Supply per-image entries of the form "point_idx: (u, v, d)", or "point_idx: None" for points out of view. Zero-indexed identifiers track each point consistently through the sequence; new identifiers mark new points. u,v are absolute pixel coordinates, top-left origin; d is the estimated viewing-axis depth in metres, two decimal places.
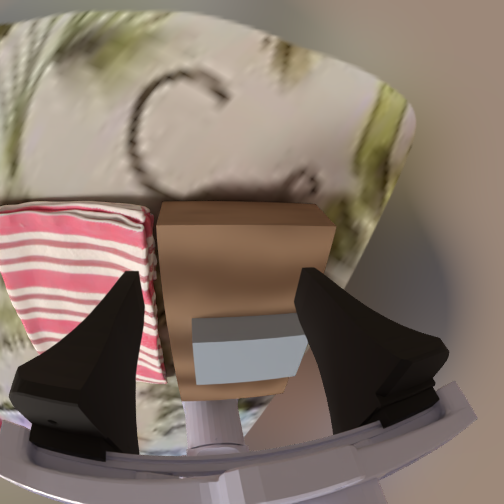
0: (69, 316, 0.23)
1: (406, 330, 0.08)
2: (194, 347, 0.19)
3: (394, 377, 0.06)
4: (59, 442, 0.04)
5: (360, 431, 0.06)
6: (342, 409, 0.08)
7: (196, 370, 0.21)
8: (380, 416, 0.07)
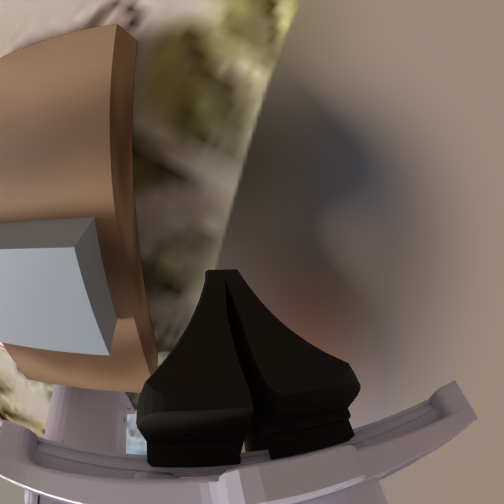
0: None
1: (308, 349, 0.07)
2: None
3: (270, 405, 0.06)
4: (188, 456, 0.05)
5: (360, 431, 0.06)
6: None
7: None
8: (268, 445, 0.06)
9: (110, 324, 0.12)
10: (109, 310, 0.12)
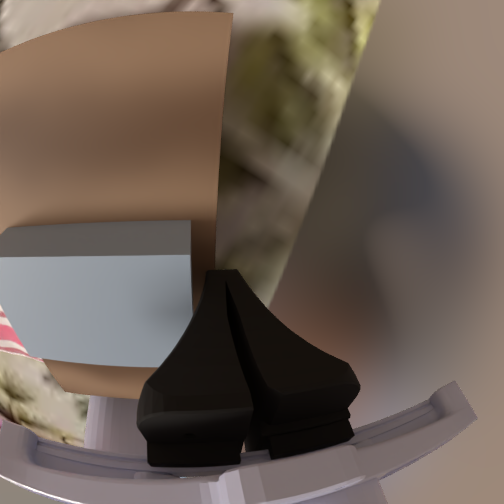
0: None
1: (308, 349, 0.07)
2: None
3: (269, 406, 0.05)
4: (188, 456, 0.05)
5: (360, 431, 0.06)
6: None
7: (12, 324, 0.09)
8: (268, 445, 0.06)
9: None
10: None
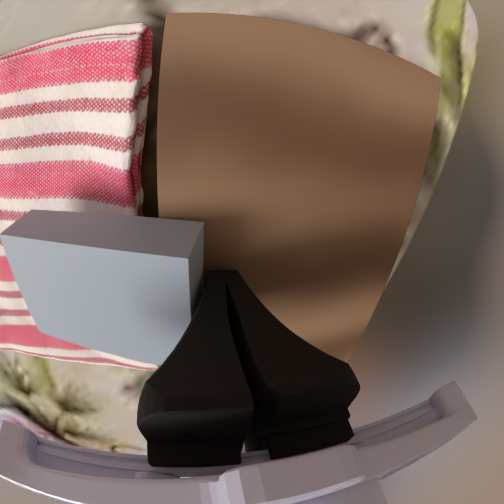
0: None
1: (308, 349, 0.07)
2: (4, 245, 0.08)
3: (269, 405, 0.05)
4: (188, 456, 0.05)
5: (360, 431, 0.06)
6: None
7: (25, 299, 0.10)
8: (267, 445, 0.06)
9: None
10: None
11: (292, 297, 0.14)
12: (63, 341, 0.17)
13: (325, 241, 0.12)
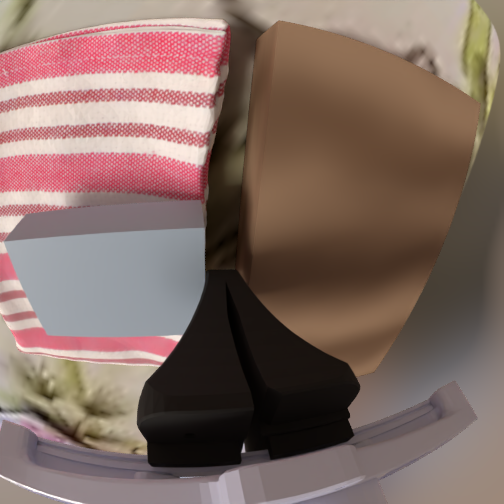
0: None
1: (308, 349, 0.07)
2: (9, 252, 0.08)
3: (269, 405, 0.05)
4: (188, 456, 0.05)
5: (360, 431, 0.06)
6: None
7: (32, 304, 0.10)
8: (267, 445, 0.06)
9: None
10: None
11: (357, 291, 0.15)
12: (100, 343, 0.18)
13: (389, 241, 0.13)
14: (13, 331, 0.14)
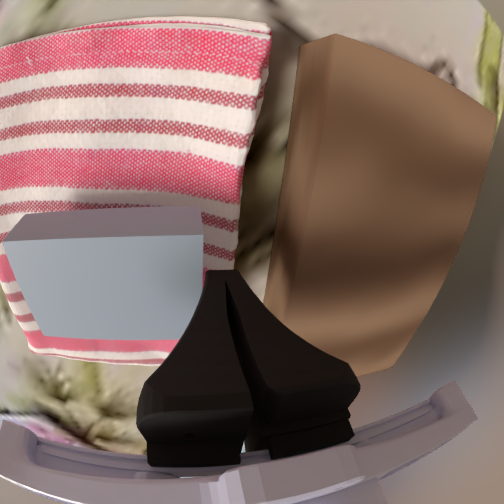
0: None
1: (308, 349, 0.07)
2: (7, 252, 0.08)
3: (270, 405, 0.06)
4: (188, 456, 0.05)
5: (360, 431, 0.06)
6: None
7: (29, 304, 0.10)
8: (268, 445, 0.06)
9: None
10: None
11: (386, 289, 0.15)
12: (119, 344, 0.18)
13: (416, 242, 0.14)
14: (26, 332, 0.15)
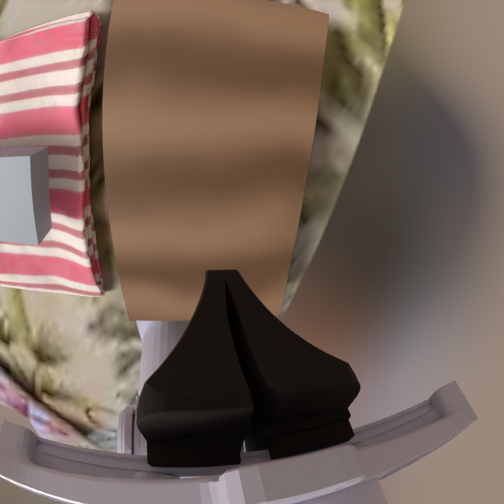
0: None
1: (308, 349, 0.07)
2: None
3: (270, 406, 0.05)
4: (188, 456, 0.05)
5: (360, 431, 0.06)
6: None
7: None
8: (268, 445, 0.06)
9: (44, 225, 0.15)
10: (46, 215, 0.15)
11: (208, 198, 0.16)
12: (27, 267, 0.19)
13: (229, 145, 0.14)
14: None
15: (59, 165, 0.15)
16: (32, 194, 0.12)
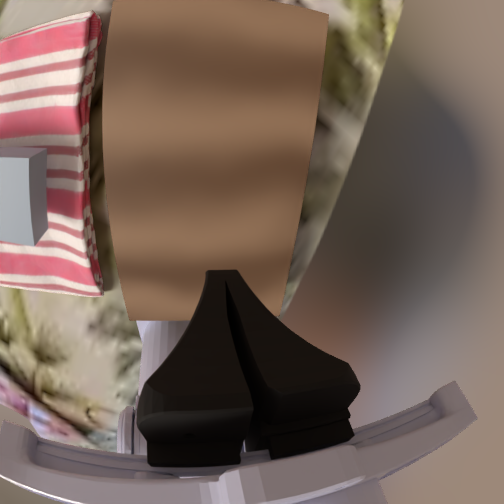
0: None
1: (308, 349, 0.07)
2: None
3: (270, 406, 0.05)
4: (188, 456, 0.05)
5: (360, 431, 0.06)
6: None
7: None
8: (268, 445, 0.06)
9: (41, 226, 0.15)
10: (43, 216, 0.15)
11: (208, 198, 0.16)
12: (26, 267, 0.19)
13: (229, 145, 0.14)
14: None
15: (58, 165, 0.15)
16: (30, 196, 0.12)
